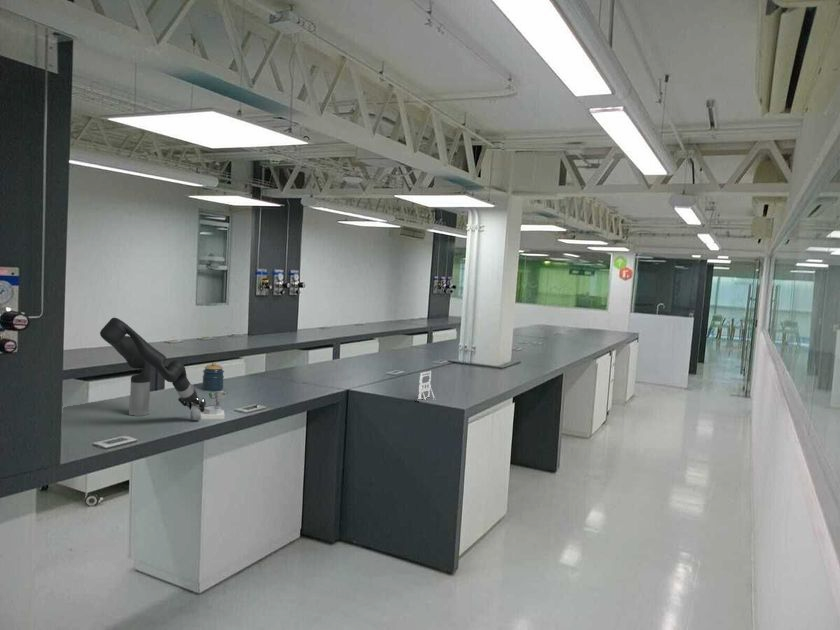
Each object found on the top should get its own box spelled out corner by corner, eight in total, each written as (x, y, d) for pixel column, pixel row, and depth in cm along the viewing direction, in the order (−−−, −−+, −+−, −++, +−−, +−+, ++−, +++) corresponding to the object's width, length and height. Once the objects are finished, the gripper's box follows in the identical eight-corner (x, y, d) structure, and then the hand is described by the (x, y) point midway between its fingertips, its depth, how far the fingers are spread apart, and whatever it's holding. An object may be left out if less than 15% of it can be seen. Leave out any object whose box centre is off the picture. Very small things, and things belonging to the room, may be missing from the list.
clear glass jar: (189, 420, 306) (190, 400, 305) (190, 417, 311) (191, 398, 311) (201, 420, 308) (202, 400, 307) (201, 417, 313) (202, 398, 312)
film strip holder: (419, 398, 407) (421, 369, 406) (437, 401, 400) (439, 371, 399) (408, 401, 394) (410, 371, 393) (426, 405, 388) (428, 374, 386)
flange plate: (200, 419, 314) (200, 410, 314) (200, 413, 325) (200, 405, 325) (224, 418, 318) (224, 410, 318) (223, 413, 329) (224, 405, 329)
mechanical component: (207, 409, 335) (208, 392, 335) (224, 407, 343) (225, 390, 342) (210, 410, 333) (210, 393, 333) (227, 409, 340) (228, 391, 340)
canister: (197, 388, 390) (199, 361, 389) (214, 386, 401) (215, 360, 400) (210, 392, 383) (212, 364, 382) (227, 389, 394) (228, 362, 392)
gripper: (169, 395, 297) (182, 414, 310) (196, 399, 295) (208, 417, 307) (176, 383, 302) (188, 402, 315) (202, 386, 300) (213, 405, 312)
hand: (198, 410), depth 311 cm, fingers closed on clear glass jar, 5 cm apart
